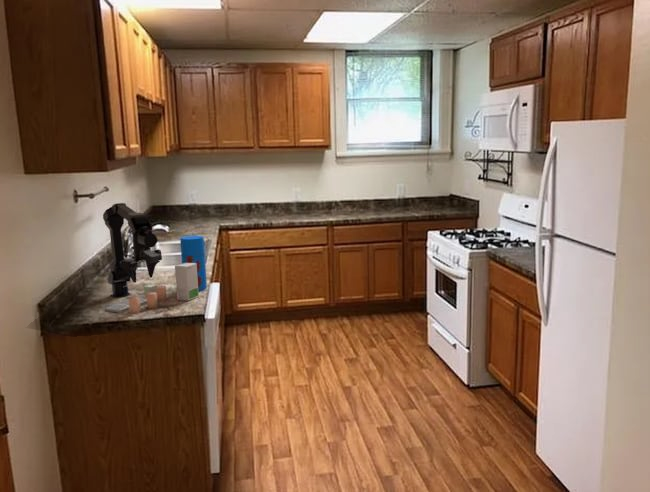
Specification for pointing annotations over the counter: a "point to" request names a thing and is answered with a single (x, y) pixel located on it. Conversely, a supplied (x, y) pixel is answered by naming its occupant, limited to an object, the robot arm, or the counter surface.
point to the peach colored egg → (134, 305)
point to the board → (124, 306)
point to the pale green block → (149, 289)
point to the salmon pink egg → (151, 300)
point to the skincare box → (186, 281)
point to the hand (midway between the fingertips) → (143, 279)
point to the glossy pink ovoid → (161, 293)
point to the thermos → (195, 257)
